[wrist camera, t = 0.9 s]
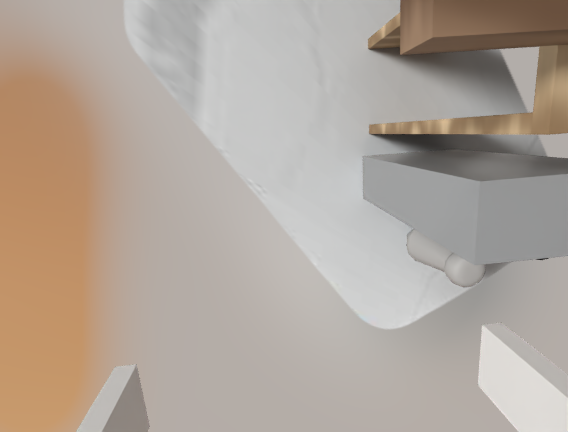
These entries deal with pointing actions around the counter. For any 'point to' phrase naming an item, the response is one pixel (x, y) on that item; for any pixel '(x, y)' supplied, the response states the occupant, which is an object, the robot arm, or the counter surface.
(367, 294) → the counter surface
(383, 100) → the counter surface
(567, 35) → the walnut rail
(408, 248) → the salt shaker
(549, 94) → the oak shelf
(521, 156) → the stone block
